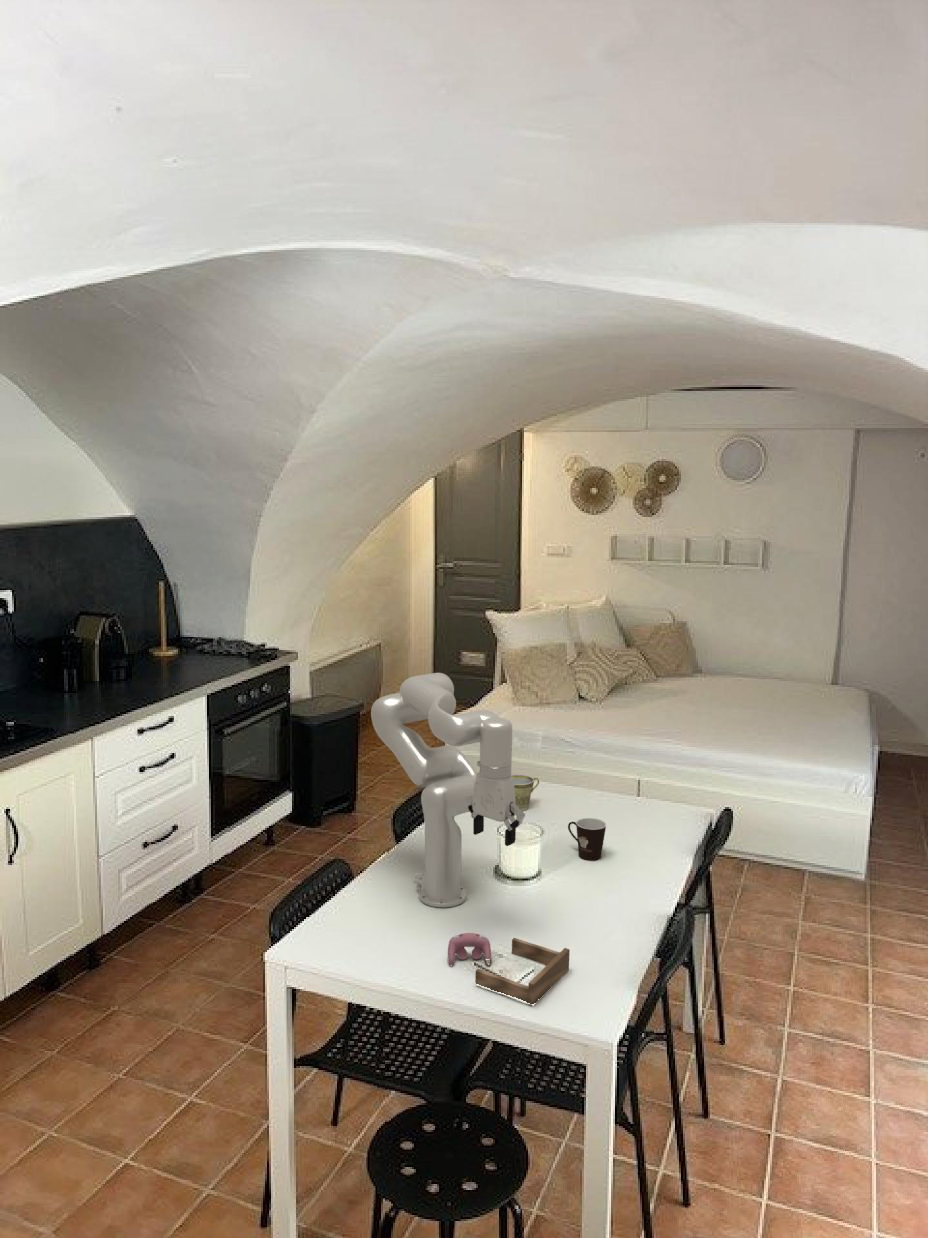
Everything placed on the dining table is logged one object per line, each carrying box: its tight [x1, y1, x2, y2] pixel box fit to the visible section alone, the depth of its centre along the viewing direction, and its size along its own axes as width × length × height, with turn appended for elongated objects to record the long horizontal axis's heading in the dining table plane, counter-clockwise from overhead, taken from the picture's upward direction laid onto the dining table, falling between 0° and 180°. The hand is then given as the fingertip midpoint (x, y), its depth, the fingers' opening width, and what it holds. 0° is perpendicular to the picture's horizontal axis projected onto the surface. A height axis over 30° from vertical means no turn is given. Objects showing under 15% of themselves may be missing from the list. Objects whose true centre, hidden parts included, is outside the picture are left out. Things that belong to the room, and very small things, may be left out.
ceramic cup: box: [511, 773, 540, 812], centre depth 303 cm, size 13×10×10 cm
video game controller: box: [447, 932, 492, 966], centre depth 209 cm, size 10×5×7 cm, turn 92°
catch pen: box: [474, 937, 570, 1004], centre depth 202 cm, size 14×17×5 cm
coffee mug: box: [567, 817, 607, 862], centre depth 266 cm, size 12×9×10 cm
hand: (494, 838), depth 220 cm, fingers open, 9 cm apart
